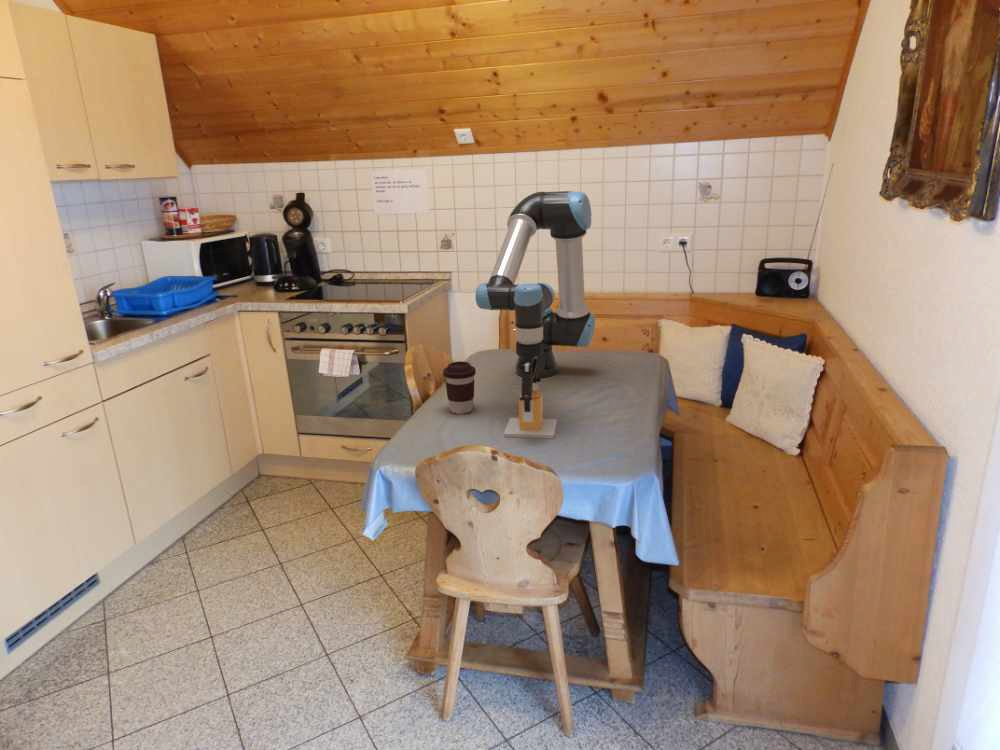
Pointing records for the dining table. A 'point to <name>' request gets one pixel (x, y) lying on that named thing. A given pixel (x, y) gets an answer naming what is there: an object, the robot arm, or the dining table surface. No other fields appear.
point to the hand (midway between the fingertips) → (530, 412)
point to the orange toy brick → (536, 413)
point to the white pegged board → (546, 430)
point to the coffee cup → (460, 386)
